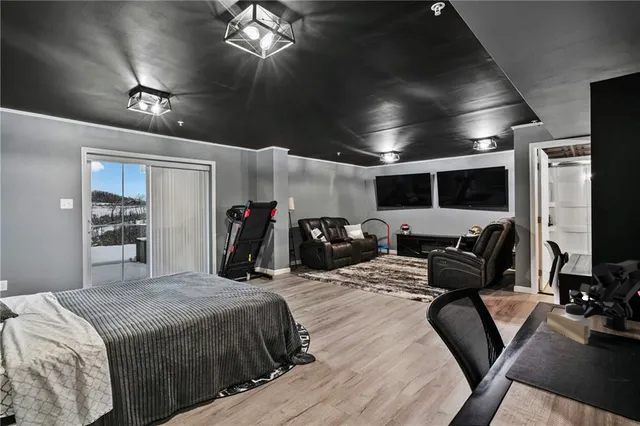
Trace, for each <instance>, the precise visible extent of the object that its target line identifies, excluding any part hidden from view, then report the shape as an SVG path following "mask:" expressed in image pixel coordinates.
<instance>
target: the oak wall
mask: <svg viewBox="0 0 640 426" xmlns="http://www.w3.org/2000/svg"><path fill="white" fill-rule="evenodd" d="M546 315H547V317H546V319H547V320H546V321H547V322H546V329H547V328H549V329H548V330H550V329H551V330H550V331H552V330H554V331H556V332H555V333H557V332H558V333H557V334H559V333H560V334H559V335H561V334H563V335H562V336H564V335H565V336H564V337H566V338H568V337H569V338H568V339H570V338H571V340H573V341H576V342H577V343H580V344H582V345H588V344H589V337H588V326H587V325H585V324H582V323H579V322H577V321H574V320H571V319H569V318H566V317H563V316H560V315H561V314H557V313H555V312H552V311H548V312H547V314H546ZM554 331H553V332H554Z"/></svg>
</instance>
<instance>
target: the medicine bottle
mask: <svg viewBox="0 0 640 426" xmlns="http://www.w3.org/2000/svg"><path fill="white" fill-rule="evenodd" d="M559 315H560V316H563V317H566V318H569V319H571V320H574V321H577V322H579V323H582V324H585V325H587V326H588V338H590V337H591V319H589V318H584V308H583V305H580V304H576V303H567V304H565V312H564V314H559Z"/></svg>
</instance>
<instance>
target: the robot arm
mask: <svg viewBox="0 0 640 426" xmlns="http://www.w3.org/2000/svg"><path fill="white" fill-rule="evenodd" d="M591 273H592V275H593V276H594V278H595V279H596V281H597V282H598V283H597V285H589V284H586V283H583V282H582V283H581V285H580V286H579V287H580V288H579V291H578V290H575V289H571V291H569V293H568V295H569V296H570V297H571V298H572V299H573V300H574V302H576V303H579V304H582V307H583V308H584V318H587V319H589V318H591V317H593V316H596V315H597V316H598V315H600V314H606V318H605V319H606V322H605V324H603V325H602V327H604V328H608V329H611V330H613V331H616V332H626V331H631V328H629V327H627V319H628V318H630V319H631V318H633V310H632V308H631V306H630V304H629V300H631V298H632V297H633V296H634V295H635V294H636V293H637V292H638V290H640V260H636V259H635V260H634V259H627V260H625V261H622V262H619V263H610V262H600V264H597V265H596V264H595V265H594V266H593V267H592V268H591ZM626 278H627V279H626ZM618 279H621V280H624V279H626V281H624V283H622V284H621V281H619V280H618ZM584 294H585V295H584Z"/></svg>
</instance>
